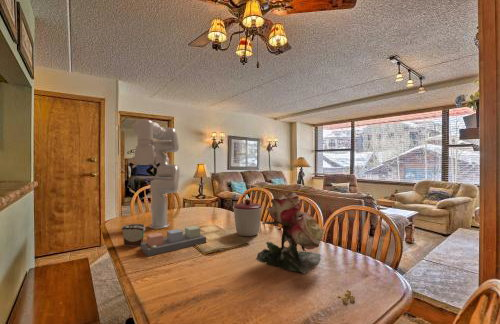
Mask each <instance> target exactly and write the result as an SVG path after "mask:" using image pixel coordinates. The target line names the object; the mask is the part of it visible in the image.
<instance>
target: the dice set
mask: <svg viewBox="0 0 500 324" xmlns="http://www.w3.org/2000/svg"><path fill="white" fill-rule="evenodd" d="M345 291H346V292H344V295H343V296H342V295H341V294H337V298H341V300H342V303H343V304H348V303H349V302H348V301H350V302H352V303H353V302H355V301H356V299H355V295H354V294H353V295H352V291H351V290H350V289H346V290H345ZM348 299H349V300H348Z"/></svg>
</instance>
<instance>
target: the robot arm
mask: <svg viewBox="0 0 500 324" xmlns="http://www.w3.org/2000/svg"><path fill="white" fill-rule="evenodd" d="M132 131H133V134H134V135H135V136H137V140H136V141H137V145H136V146H135V151H134V156H132V157H131V158H128V159H127V162H128V165H129V166H130V167H131V169H132V174H133V176H134V177H136V176H138V168H137V167H138V166H139V165H146V166H147V165H148V166H149V165H152V166H153V169H152V170H153V176H154V177H155V179H152V180H151V182H150V183H149V184H150V185H149V187H150V194H151V223H150V224H149V227H148V228H150V229H153V230H157V229H158V230H159V229H166V228H168V227H170V223H169V222H168V199H167V197H166V196H165V194H175V193H177V192H178V191H179V190H178V189H179V181H180V180H179V179H180V168H179V165H176V164H170V158H169V157H168V155H167V154H166V153H176V152H178V151H179V148H180V146H179V139H178V134H177V130H176V129H175V128H174V127H163V126H161V125H160V124H159V123H158V122H155V121H152V120H149V119H139V120H138V121H135V122H134V123H133V124H132ZM154 139H155V140H154ZM133 162H134V163H133Z"/></svg>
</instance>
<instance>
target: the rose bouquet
mask: <svg viewBox="0 0 500 324" xmlns="http://www.w3.org/2000/svg"><path fill="white" fill-rule="evenodd" d="M301 201H302V198H300V196H299V195H297V193H296V192H293V191H289V192H287V193H286V194H282V195H281V197H279V196H275V198H271V199H270V203H271V204H272V205H271V206H270V205H269V206H268V207H266V206H264V207H263V209H266V210H267V211H268V214H269V216H270V217H271V218H272V219H273V221H269V220H268V221H264V222H262V223H261V224H262V225H278V224H279V225H281V226H282V229H281V227H279V228H277V230H278V231H281V230H282V233H281V238H280V239H281V244H280V245H281V247H279V245H277V244H275V243H274V242H272V241H269V240H268V241H266V242H265V244H266V248H264V249H262V250H261V251H260V252H258V253H257V257H256V258H255V260H257V262H259V263H262V264H264V263H265V265H267V266H271V267H274V268H275V267H276V268H283V269H285V270H287V271H289V272H290V271H291V272H295V273H297V272H300V273H302V274H303V275H305V274H307V273H308V272H309V271H310V272H312V273H314V271H312V268H311V266H317V265H319V263H320V260H321V256H322V254H320V253H314V252H311V251H307V250H314V249H315V248H318V247H320V243H321V241H322V239H323V235H324V232H325V230H324V229H323V228H322V227H320V226H319V224H318V221H317V220H316V219H315V217H314V216H311V215H310V213H308V212H305V211H302V210H301V208H302V206H301V205H300V204H301ZM287 242H288V246H287V247H286V246H285V243H287ZM298 245H299V246H301V250H302V251H301V250H300V251H299V250H298V247H297V246H298ZM267 248H268V249H267Z"/></svg>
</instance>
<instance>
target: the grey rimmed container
mask: <svg viewBox="0 0 500 324" xmlns="http://www.w3.org/2000/svg"><path fill="white" fill-rule="evenodd" d="M121 231H122V239H123V246H124V247H141V243H143V242H144V237H145V231H146V226H145V224H144V223H133V224H131V223H130V224H126V225H122V226H121Z"/></svg>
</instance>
